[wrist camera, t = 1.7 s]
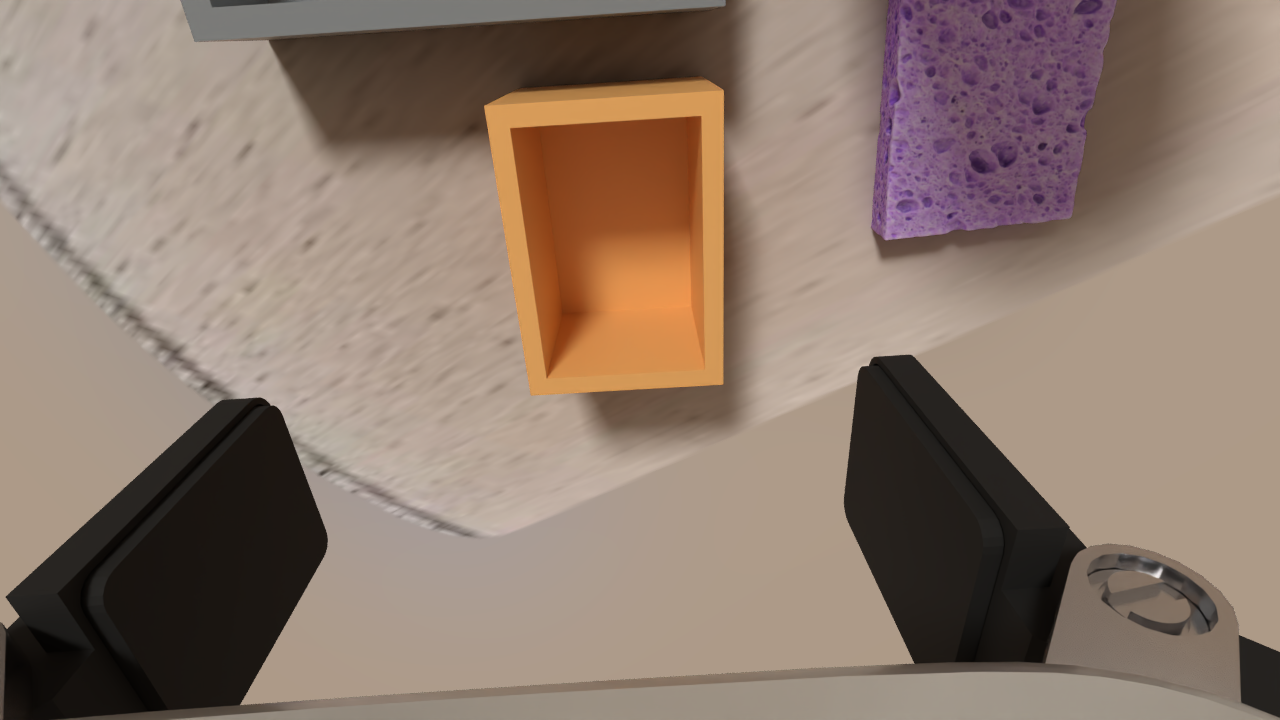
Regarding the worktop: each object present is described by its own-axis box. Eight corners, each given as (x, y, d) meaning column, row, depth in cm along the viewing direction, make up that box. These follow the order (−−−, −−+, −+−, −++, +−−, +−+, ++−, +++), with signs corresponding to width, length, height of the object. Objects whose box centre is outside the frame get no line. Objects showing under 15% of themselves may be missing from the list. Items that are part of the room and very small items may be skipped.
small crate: (701, 76, 22) (724, 90, 17) (704, 313, 26) (723, 384, 21) (519, 88, 22) (483, 106, 17) (551, 322, 26) (530, 395, 21)
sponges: (866, 227, 25) (882, 241, 24) (891, -173, 19) (915, -191, 18) (1045, 209, 25) (1074, 221, 23) (1125, -203, 19) (1172, -225, 17)
